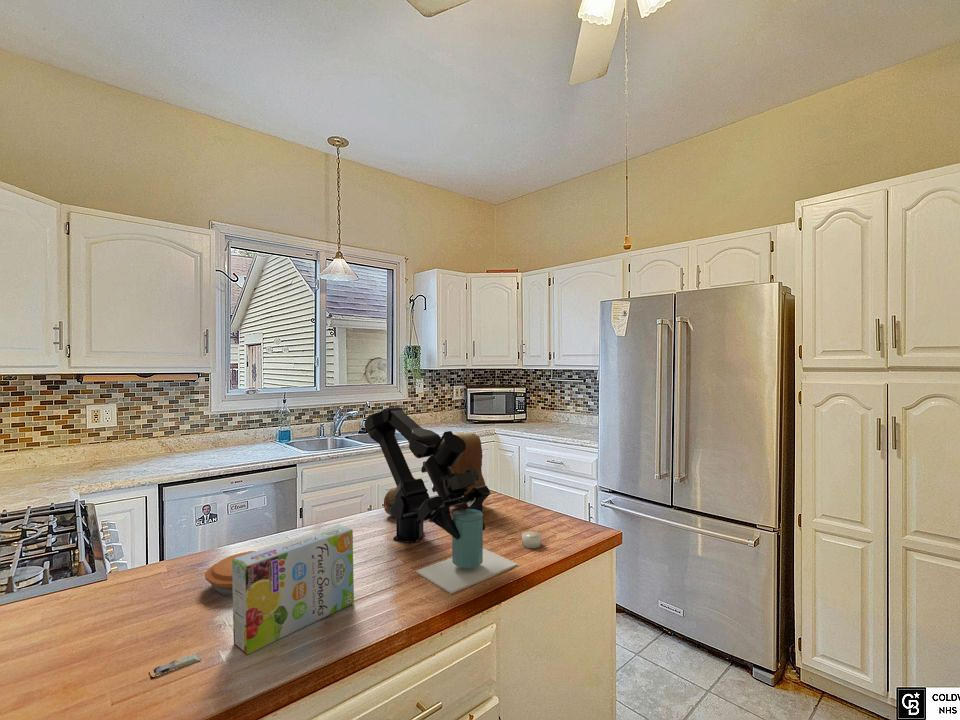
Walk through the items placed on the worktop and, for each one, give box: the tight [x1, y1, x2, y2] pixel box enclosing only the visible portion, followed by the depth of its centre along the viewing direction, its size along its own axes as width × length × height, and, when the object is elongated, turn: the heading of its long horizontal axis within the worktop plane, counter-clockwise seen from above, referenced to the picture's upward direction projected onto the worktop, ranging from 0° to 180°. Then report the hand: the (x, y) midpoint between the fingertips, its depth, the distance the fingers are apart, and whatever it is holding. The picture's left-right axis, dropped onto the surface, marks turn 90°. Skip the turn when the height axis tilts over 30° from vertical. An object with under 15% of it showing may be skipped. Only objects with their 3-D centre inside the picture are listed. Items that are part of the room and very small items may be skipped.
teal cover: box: [451, 509, 484, 568], centre depth 109 cm, size 7×7×11 cm
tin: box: [383, 487, 397, 516], centre depth 149 cm, size 15×3×8 cm, turn 143°
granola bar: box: [152, 653, 202, 676], centre depth 74 cm, size 7×2×1 cm, turn 132°
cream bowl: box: [521, 531, 542, 549], centre depth 123 cm, size 5×5×3 cm
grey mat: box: [415, 547, 519, 595], centre depth 109 cm, size 20×13×1 cm, turn 132°
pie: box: [204, 550, 256, 597], centre depth 102 cm, size 16×16×5 cm
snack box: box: [232, 524, 355, 655], centre depth 87 cm, size 21×6×15 cm, turn 141°
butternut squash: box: [450, 431, 487, 510], centre depth 152 cm, size 14×13×25 cm
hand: (471, 534), depth 108 cm, fingers closed on teal cover, 7 cm apart
